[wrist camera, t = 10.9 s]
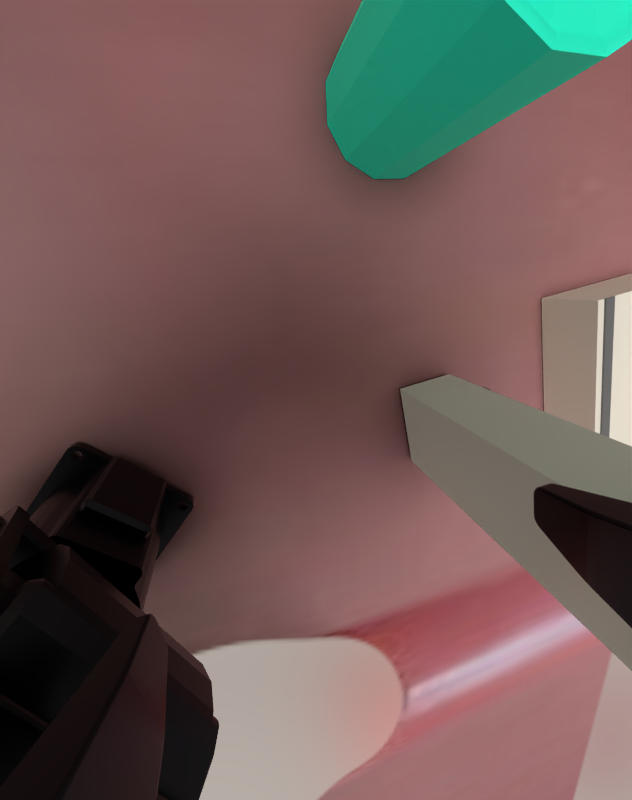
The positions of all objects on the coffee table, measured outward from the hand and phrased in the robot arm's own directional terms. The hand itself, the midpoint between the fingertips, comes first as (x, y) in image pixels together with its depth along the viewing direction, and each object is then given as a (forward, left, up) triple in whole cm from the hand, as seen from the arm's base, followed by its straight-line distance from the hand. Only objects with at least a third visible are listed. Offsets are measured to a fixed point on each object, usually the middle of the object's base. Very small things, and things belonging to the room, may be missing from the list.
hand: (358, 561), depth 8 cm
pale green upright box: (+4, -8, -12) cm, 15 cm away
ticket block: (+12, -14, -12) cm, 22 cm away
